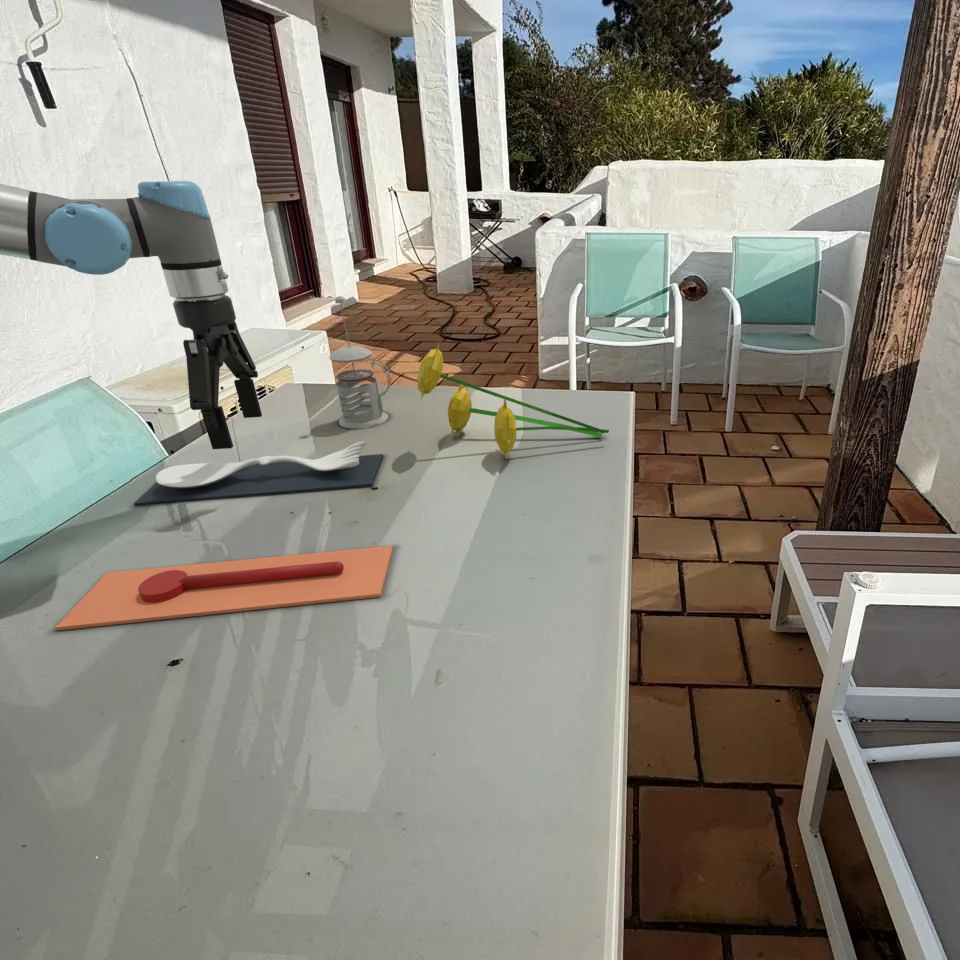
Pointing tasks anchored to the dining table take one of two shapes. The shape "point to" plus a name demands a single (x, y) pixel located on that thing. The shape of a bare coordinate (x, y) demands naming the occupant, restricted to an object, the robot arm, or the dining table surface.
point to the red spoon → (226, 579)
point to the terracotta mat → (232, 589)
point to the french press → (368, 410)
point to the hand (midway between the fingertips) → (239, 431)
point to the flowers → (504, 417)
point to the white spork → (217, 471)
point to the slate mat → (270, 482)
